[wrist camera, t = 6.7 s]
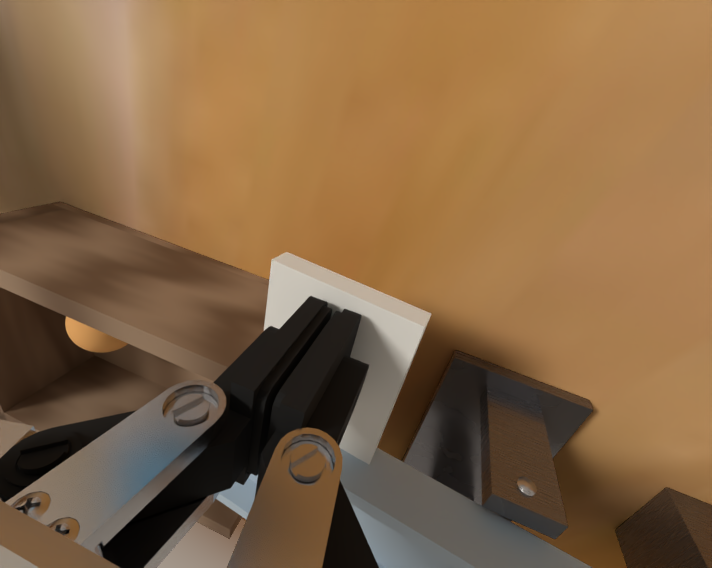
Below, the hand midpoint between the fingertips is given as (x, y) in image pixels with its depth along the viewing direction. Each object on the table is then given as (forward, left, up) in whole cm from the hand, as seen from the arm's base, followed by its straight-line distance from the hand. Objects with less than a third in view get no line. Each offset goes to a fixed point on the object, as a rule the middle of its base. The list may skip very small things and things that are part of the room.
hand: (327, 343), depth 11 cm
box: (+11, +8, -6) cm, 15 cm away
